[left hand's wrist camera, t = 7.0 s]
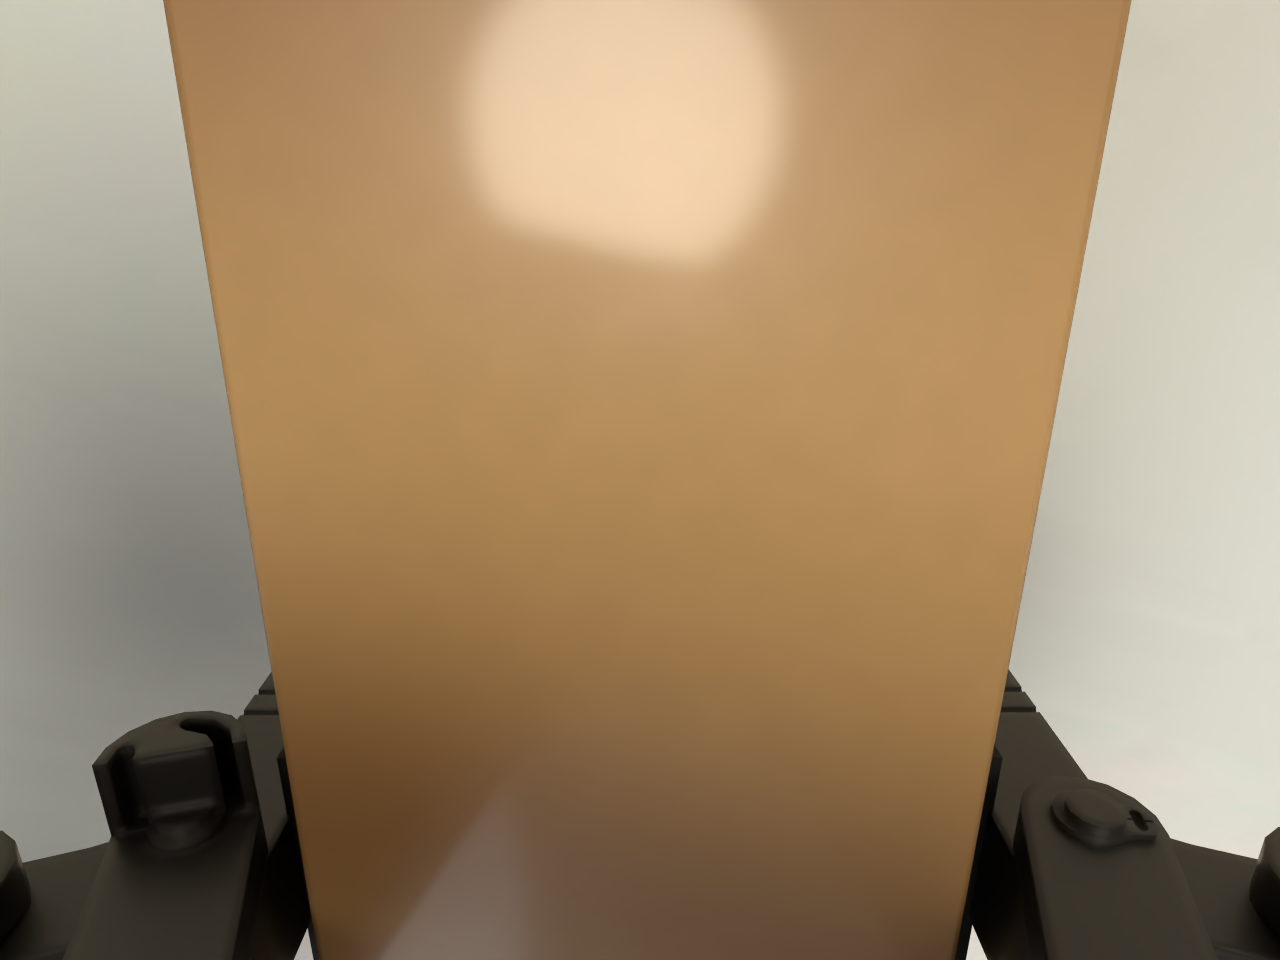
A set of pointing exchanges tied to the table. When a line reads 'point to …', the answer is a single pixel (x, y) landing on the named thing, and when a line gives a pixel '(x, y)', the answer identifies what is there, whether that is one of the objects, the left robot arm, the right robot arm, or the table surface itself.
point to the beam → (642, 446)
